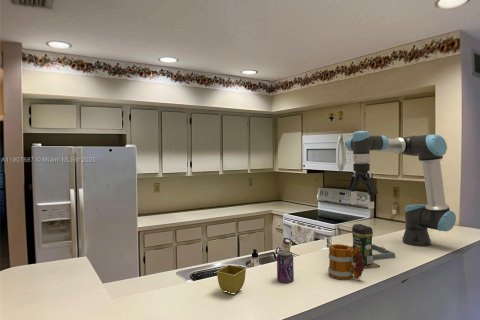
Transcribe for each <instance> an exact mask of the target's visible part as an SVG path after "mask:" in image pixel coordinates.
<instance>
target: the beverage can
mask: <svg viewBox="0 0 480 320" xmlns="http://www.w3.org/2000/svg"><path fill="white" fill-rule="evenodd" d="M294 267H295V266H294V255H293V252H292V251H289V250H278V252H277V255H276V277H277V278H276V279H277V280H278V281H279V282H281V281H282V282H281V283H291V282H293V281H294V279H295V275H294Z"/></svg>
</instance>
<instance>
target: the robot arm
mask: <svg viewBox="0 0 480 320" xmlns="http://www.w3.org/2000/svg"><path fill="white" fill-rule="evenodd" d="M345 147H346V148H345V149H347V151H350V152H352V154H353V156H352V158H353V159H352V162H353V169H352V170H353V171H351V172H350V178H349V183H348V187H347V190H348V191H350V204H351V205H358V202H357V201H358V199H357V189H358V186H359V184H360V183H362V184H363V185H364V186H365V189H366V190H367V193H368V194H367V209H369V210H370V209H375V195H376V194H378V193H379V192H378V189H377V185H376V183H375V180H374V174H373V173H372V172H371V173H369V171H370V169H371V168H370V166H371V164H370V163H369V162H370V161H371V159H370V157H371V156H370V152H377V153H378V152H380V153H381V152H382V153H384V152H385V153H394V154H396V155H403V156H412V157H418V161H419V162H420V163H421V164H422V171H423V177H424V178H423V179H424V186H425V191H426V192H425V193H426V200H427V202H426V203H427V204H425V203H424V204H422V203H421V204H419V203H418V204H408V205H406V206H405V211H404V213H405V214H404V215H405V217H404V218H405V224H404V225H405V229H404V232H403V236H402V243H403V244H405V245H409V246H414V247H415V246H417V247H428V246H429V247H430V246H431V245H432V239H431V237H430V235H429V232H428V230H429V229H430V230H431V229H432V230H436V231H438V232H449V231H451V230H452V229H453V228H454V227H455V224H456V221H457V216H456V213H455V212H454V211H452V210H450V206H449V204H447V203H446V197H445V189H444V181H443V174H442V173H443V172H442V165H441V161H442V159H443V158H444V157H443V156H444V155H446V153H447V150H448V149H447V148H448V144H447V142H446V139H445V138H444V137H443V136H441V135H440V134H431V133H430V134H421V135H411V136H404V137H403V136H402V137H395V138H388V137H387V136H386V135H381V134H378V135H377V134H376V135H373V134H372V135H370V132H369V131H368V130H359V131H354V132H353V133H352V136H351V137H349V138H347V139H346V141H345Z"/></svg>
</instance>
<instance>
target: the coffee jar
mask: <svg viewBox="0 0 480 320" xmlns="http://www.w3.org/2000/svg"><path fill="white" fill-rule="evenodd" d="M351 227H352V229H351V234H352V235H351V236H352V246H353V249H354V248H355V247H356V246H358V245H359V246H360V247H361V248H360V251H359V252H361V253H362V256H363V260H364V265H371V264H372V263H373V262H374V260H373V255H374V254H373V249H372V244H373V234H374V233H373V228H372V227H371V226H367V225H365V224H362V223H355V224H353V225H352V226H351ZM352 260H353V261H354V262H356V260H355V258H354V256H353V259H352ZM356 263H357V262H356Z"/></svg>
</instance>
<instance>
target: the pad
mask: <svg viewBox="0 0 480 320" xmlns="http://www.w3.org/2000/svg"><path fill="white" fill-rule="evenodd" d="M352 265H353V266H354V267H356V262H354V261H353V260H352ZM380 267H381V265H380V264H378V263H376V262H374V261H373V263H372V264H371V265H364V270H365V269H373V268H374V269H376V268H380Z"/></svg>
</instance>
